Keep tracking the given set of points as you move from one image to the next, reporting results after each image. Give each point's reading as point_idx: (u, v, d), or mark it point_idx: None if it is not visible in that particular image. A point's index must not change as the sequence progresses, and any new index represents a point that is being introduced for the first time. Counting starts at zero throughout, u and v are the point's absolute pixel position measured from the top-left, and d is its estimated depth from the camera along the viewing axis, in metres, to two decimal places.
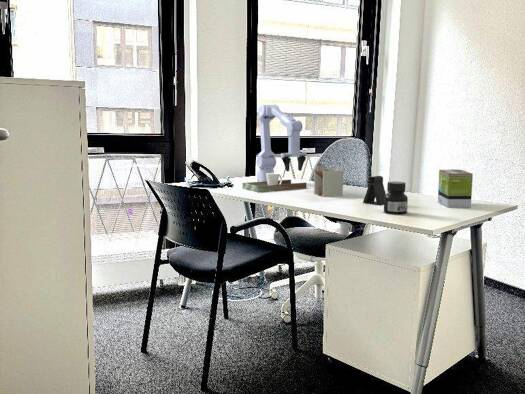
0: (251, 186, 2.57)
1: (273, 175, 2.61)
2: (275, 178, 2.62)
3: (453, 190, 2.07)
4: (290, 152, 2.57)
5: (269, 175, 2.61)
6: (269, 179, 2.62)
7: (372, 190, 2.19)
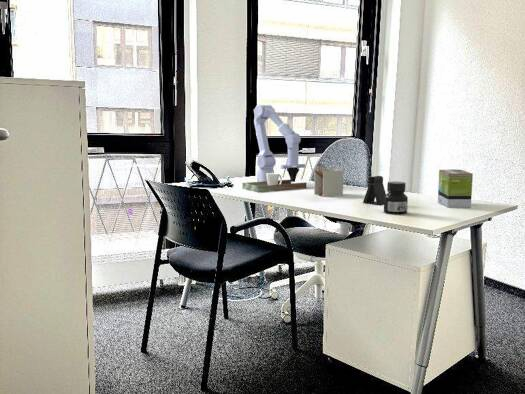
0: (251, 186, 2.57)
1: (273, 175, 2.61)
2: (275, 178, 2.62)
3: (453, 190, 2.07)
4: (289, 164, 2.68)
5: (269, 175, 2.61)
6: (269, 179, 2.62)
7: (372, 190, 2.19)
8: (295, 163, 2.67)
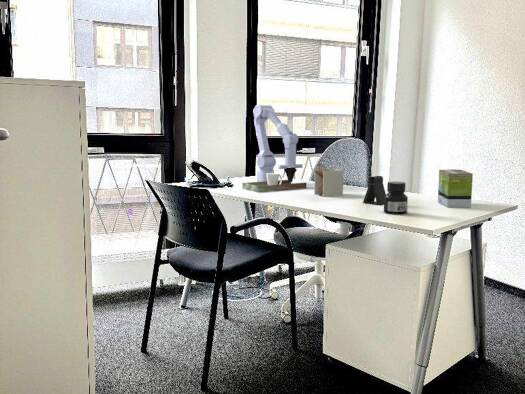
0: (251, 186, 2.57)
1: (273, 175, 2.61)
2: (275, 178, 2.62)
3: (453, 190, 2.07)
4: (287, 164, 2.67)
5: (269, 175, 2.61)
6: (269, 179, 2.62)
7: (372, 190, 2.19)
8: (292, 163, 2.67)
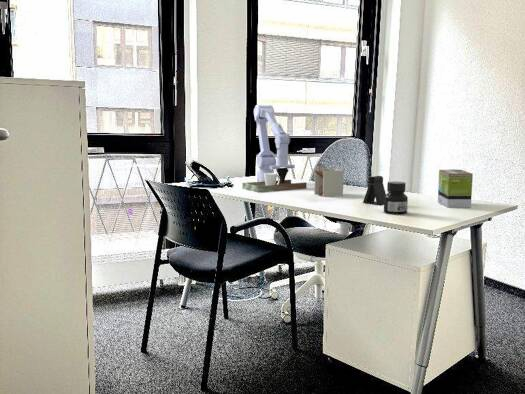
0: (251, 186, 2.57)
1: (271, 175, 2.60)
2: (273, 178, 2.61)
3: (453, 190, 2.07)
4: (278, 164, 2.64)
5: (267, 175, 2.60)
6: (267, 179, 2.61)
7: (372, 190, 2.19)
8: (284, 164, 2.64)
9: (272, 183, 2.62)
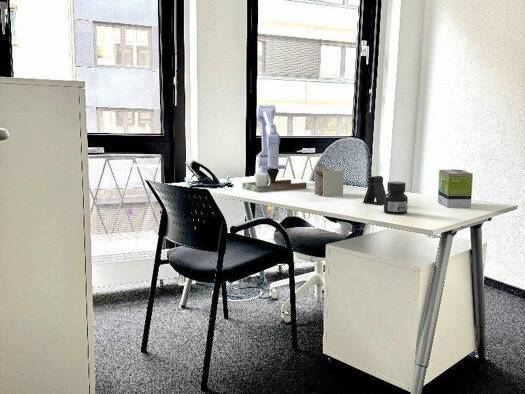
0: (251, 186, 2.57)
1: (262, 176, 2.57)
2: (264, 179, 2.58)
3: (453, 190, 2.07)
4: (269, 165, 2.62)
5: (258, 176, 2.58)
6: (258, 180, 2.58)
7: (372, 190, 2.19)
8: (275, 164, 2.61)
9: (263, 184, 2.59)
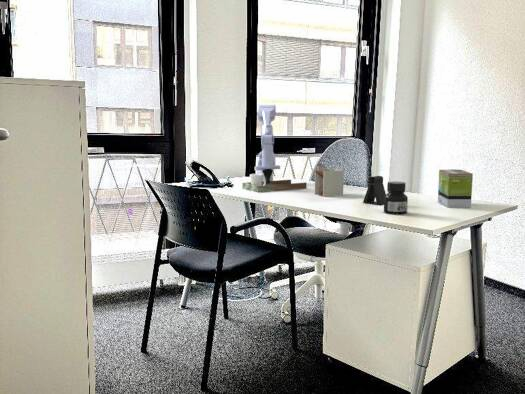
0: (251, 186, 2.57)
1: (257, 176, 2.56)
2: (259, 179, 2.57)
3: (453, 190, 2.07)
4: (263, 165, 2.60)
5: (253, 176, 2.56)
6: (253, 180, 2.57)
7: (372, 190, 2.19)
8: (269, 164, 2.60)
9: (258, 184, 2.57)
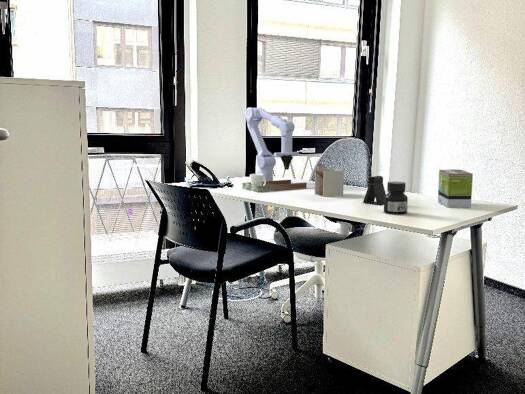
0: (251, 186, 2.57)
1: (257, 176, 2.56)
2: (259, 179, 2.57)
3: (453, 190, 2.07)
4: (283, 151, 2.68)
5: (253, 176, 2.56)
6: (253, 180, 2.57)
7: (372, 190, 2.19)
8: (289, 151, 2.67)
9: (258, 184, 2.57)
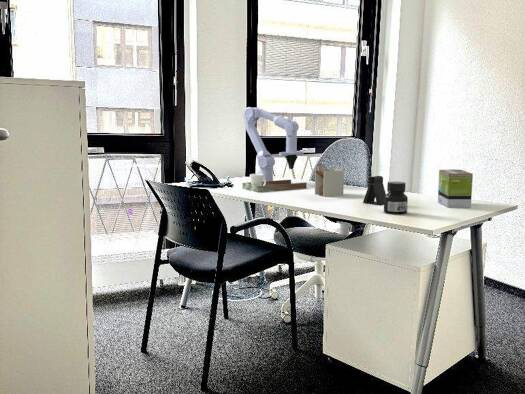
0: (251, 186, 2.57)
1: (257, 176, 2.56)
2: (259, 179, 2.57)
3: (453, 190, 2.07)
4: (288, 151, 2.71)
5: (253, 176, 2.56)
6: (253, 180, 2.57)
7: (372, 190, 2.19)
8: (293, 150, 2.71)
9: (258, 184, 2.57)
